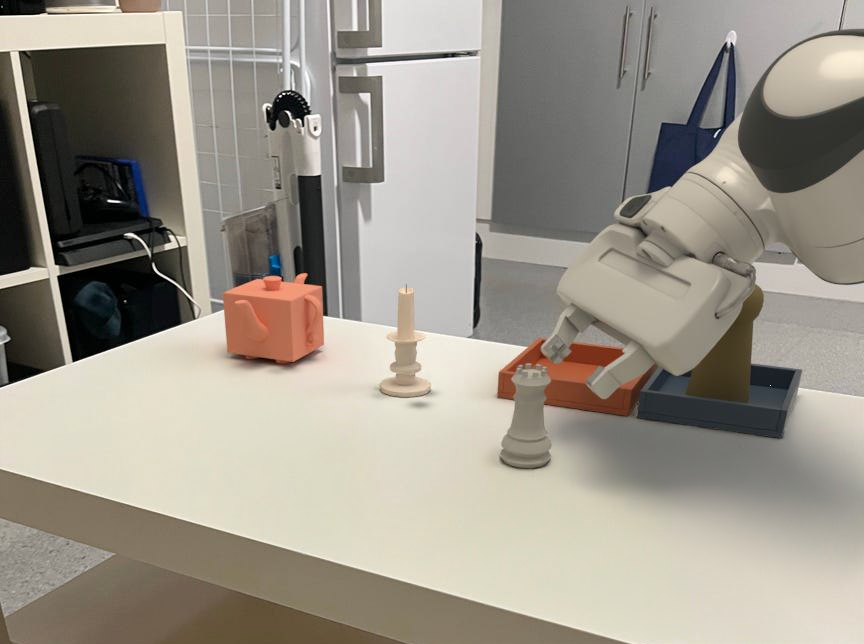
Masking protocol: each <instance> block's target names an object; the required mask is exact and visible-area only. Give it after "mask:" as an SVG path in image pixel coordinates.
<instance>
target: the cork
mask: <svg viewBox="0 0 864 644" xmlns="http://www.w3.org/2000/svg"><path fill="white" fill-rule="evenodd" d="M754 286H755V288H754V290H753V292H752V293H751V294H750V295H749V297H748V298H747V299H746V300H745V301H744V302H743V306H742V309H741V311H740V313H739V315H738V317H737V318H736V320H735V321H734V322H733V324H732V325H731V326H730V328H729V329H728V330H727V331H726V333H725V334H724V335H723V336H722V337H721V339H720V340H719V341H718V342H717V343H716V345H715V346H714V347H713V348H712V349H711V350H710V351H709V353H708V354H707V355H706V356H705V357H704V358H703V359H702V360H701V362H700V363H699V364H698V365H697V366H696V367H695V368H693V370H692V374H691V377H690V380H689V384H688V387H687V390H686V393H685V395H688V396H695V397H703V398H710V399H718V400H725V401H733V402H740V403H747V404H748V402H749V389H750V372H751V363H752V354H753V353H752V352H753V336H754V335H753V334H754V321H755V320H756V319H757V318H758V317H759V316H760V313H761V311H762V309H763V307H764V301H765V297H764V296H765V295H764V292H763V289H762V287H760V286H759V285H758V284H756V283H755V284H754Z"/></svg>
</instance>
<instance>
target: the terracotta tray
mask: <svg viewBox="0 0 864 644" xmlns="http://www.w3.org/2000/svg"><path fill="white" fill-rule="evenodd" d="M547 339H548V338H544V337H538V338H536V340H535V341H534V342H532V343H531V344H530V345H529V346H527V348H525V349H524V350H522V352H520V353H519V354H518V355H517V356H515V357H514V359H512V360H511V361H510V362H508V363H507V364H506V365H505V366H504V367H502V368H501V369H500V370H499V371H498V379H497V398H500V399H507V400H513V401H515V400H514V398H513V396H514V394H515V393H516V386H515V385H514V383H513V382H512V380H511V379H512V377H513V376H514V375H515V373H516V369H517V366H519V365H523V370H524V369H525V364H531V369H536V364H539V365H542V369H543V367H547V375H548V376H549V378H550V379H551V382H550V383H549V384H548V386H547V387H546V388H545V390H544V394H545V396H546V397H547V399H546V400H545V402H544V405H547V406H549V405H550V406H555V407H561V408H562V407H563V408H570V409H576V410H582V411H590V412H597V413H605V414H611V415H617V416H618V415H619V416H625V417H629V416H630V414H631V412H632V411H633V410H634V409H635V407H636V406H637V405H638V403H639V396H640V391H641V390H642V388H643V387H644V386H645V384H646V383H647V382H648V380H649V379H650V378H651V376H652V375H653V374H654V372H655V371H656V370H657V368H658V367H659V366H658V365H656V364H655V363H654V365H653V366H652V367H651V368H650V369H649V370H648V371H647V372H646V373H645V374H643V375H641V376H639V377H637V378H635V379H633V380H631V381H629V382H627V383H625V384H623V385H620V386H619V387H618V388H617V389H616V390H615V391H614V392H613V393H612V394H611V395H610V396H609V397H608V398H607V399H601V398H600V397H598V396H597V395H596V394H595V393H594V392H593V391H592V390H591V389H590V388H589V387H588V386H587V385H586V380H587V378H588V377H589V376H590V375H592V374H593V372H594V371H595V370H596V369H597V368H598V367H599V366H602V367H604V368H605V367H606V366H608V365H609V364H611V363H612V362H613V361H615V360H616V359H618V358H619V357H621V356H622V355H624V353H623V352H622V350H623V349H624V348H625V347H619V346H611V345H603V344H594V343H587V342H577V341H573V342H572V344H571V346H570V347H569V349H570V350H571V351H572V352H571V353H570V354H569V355H568V356H567V357H566V358H564V359H563V361H562V362H561V363H560V364H554V363H553V362H551V361H550V360H549V359H548V358H547V357H546V356H545V355H544V354H543V353H542V352H541V346H542V345H543V344H544V343H545V341H546V340H547Z"/></svg>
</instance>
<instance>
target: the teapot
mask: <svg viewBox="0 0 864 644" xmlns="http://www.w3.org/2000/svg"><path fill="white" fill-rule="evenodd" d="M308 276H309V275H308V273H306V272H303V273H300V274H298V275H297V276H295V278H294V280H293V282H289V281H282V280H283V279H282V277H281V276H278V275H268V276H265V277H262V279H261V278H256V279H253V280H251V281H249V282H246V283H243V284H241V285H238V286H235V287H233V288H231V289H229V290H226V291H224V292H223V293H222V303H223V316H224V325H225V326H224V327H225V338H226V349H227V351H226V352H227V353H228V354H236V355H242V356H245V359H247V360H256V359H260V358H264V359H270V360H275V363H277V364H289V363H291V362H292V363H294V362H296V361H297V360H299V359H301V358H303V357H305V356H306V355H308V354H310V353H312V352H314V351H316V350H318V349H319V348H322V347H323V346H324V345H325V330H324V329H325V328H324V300H323V286H321V285H315V284H305V280H306V279H307V277H308Z"/></svg>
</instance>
